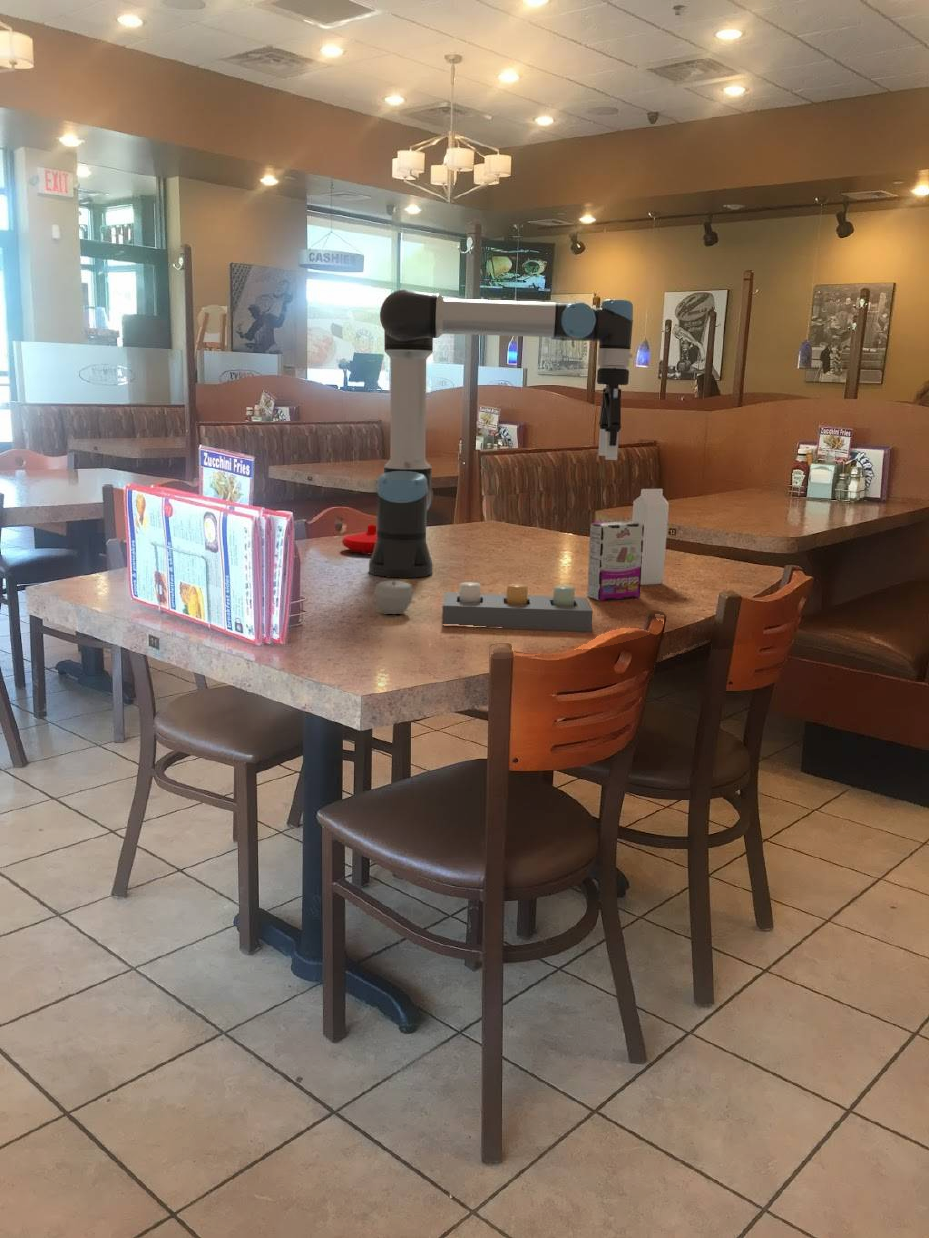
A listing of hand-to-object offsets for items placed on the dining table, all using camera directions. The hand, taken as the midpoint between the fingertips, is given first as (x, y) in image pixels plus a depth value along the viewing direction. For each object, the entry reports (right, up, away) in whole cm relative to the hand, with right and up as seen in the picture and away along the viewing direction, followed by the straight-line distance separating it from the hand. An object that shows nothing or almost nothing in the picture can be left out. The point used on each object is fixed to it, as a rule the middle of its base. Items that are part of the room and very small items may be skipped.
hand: (607, 457), depth 243 cm
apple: (-49, -38, -47) cm, 78 cm away
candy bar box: (-2, -35, -25) cm, 43 cm away
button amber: (-25, -37, -51) cm, 68 cm away
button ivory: (-34, -37, -51) cm, 71 cm away
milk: (+8, -31, -7) cm, 32 cm away
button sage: (-16, -38, -51) cm, 65 cm away
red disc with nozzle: (-59, -22, +22) cm, 67 cm away
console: (-25, -40, -50) cm, 69 cm away
